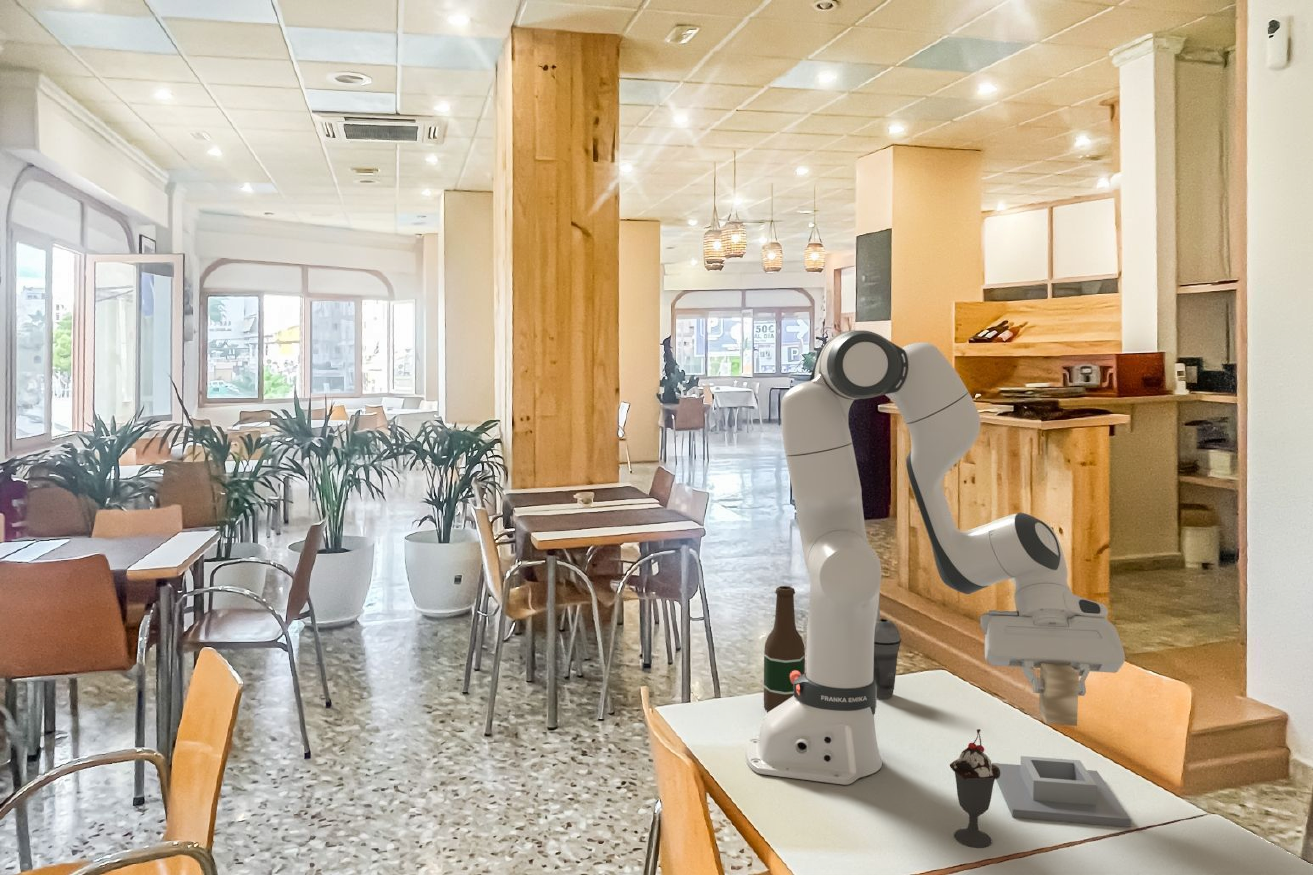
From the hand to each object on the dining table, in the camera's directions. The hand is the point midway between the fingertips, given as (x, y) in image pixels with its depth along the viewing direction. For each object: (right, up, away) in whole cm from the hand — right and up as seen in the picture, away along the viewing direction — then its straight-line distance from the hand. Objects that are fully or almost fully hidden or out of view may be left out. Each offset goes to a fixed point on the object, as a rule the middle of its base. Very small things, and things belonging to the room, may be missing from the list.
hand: (1059, 692), depth 137 cm
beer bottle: (-37, -14, +36) cm, 54 cm away
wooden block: (0, -4, +1) cm, 4 cm away
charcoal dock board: (0, -16, +1) cm, 16 cm away
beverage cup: (-16, -13, +45) cm, 49 cm away
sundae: (-17, -17, -11) cm, 27 cm away
